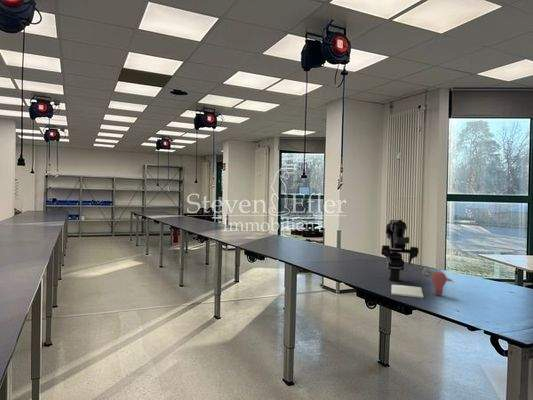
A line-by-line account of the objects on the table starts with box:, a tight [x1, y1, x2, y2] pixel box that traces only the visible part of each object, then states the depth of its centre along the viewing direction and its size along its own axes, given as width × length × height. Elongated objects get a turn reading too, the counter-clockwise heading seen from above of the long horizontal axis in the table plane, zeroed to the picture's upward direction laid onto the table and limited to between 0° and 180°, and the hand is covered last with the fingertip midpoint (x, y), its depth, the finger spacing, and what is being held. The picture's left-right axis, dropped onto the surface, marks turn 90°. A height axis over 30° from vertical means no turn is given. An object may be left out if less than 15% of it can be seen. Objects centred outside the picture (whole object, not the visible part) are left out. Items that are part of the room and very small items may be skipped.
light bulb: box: [430, 271, 448, 296], centre depth 198 cm, size 7×7×12 cm
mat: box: [390, 284, 424, 299], centre depth 203 cm, size 19×15×1 cm
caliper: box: [422, 265, 454, 283], centre depth 238 cm, size 20×1×6 cm, turn 30°
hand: (400, 263), depth 207 cm, fingers open, 9 cm apart
